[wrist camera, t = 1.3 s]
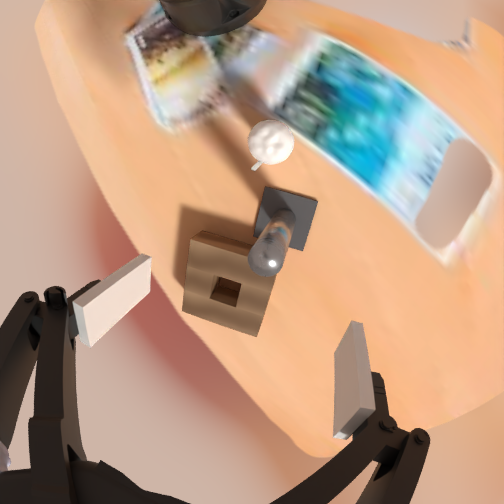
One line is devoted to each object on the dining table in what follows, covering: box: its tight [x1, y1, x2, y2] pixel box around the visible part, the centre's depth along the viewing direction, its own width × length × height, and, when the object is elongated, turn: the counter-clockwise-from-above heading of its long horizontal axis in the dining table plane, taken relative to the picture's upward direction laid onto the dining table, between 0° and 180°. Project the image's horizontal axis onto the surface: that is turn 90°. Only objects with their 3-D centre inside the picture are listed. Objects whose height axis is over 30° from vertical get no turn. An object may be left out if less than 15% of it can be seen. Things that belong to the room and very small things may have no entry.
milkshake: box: [248, 120, 294, 171], centre depth 28 cm, size 4×5×10 cm
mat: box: [253, 187, 318, 251], centre depth 36 cm, size 7×7×1 cm
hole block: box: [182, 231, 277, 337], centre depth 39 cm, size 12×12×4 cm
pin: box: [248, 208, 296, 277], centre depth 29 cm, size 3×3×14 cm
